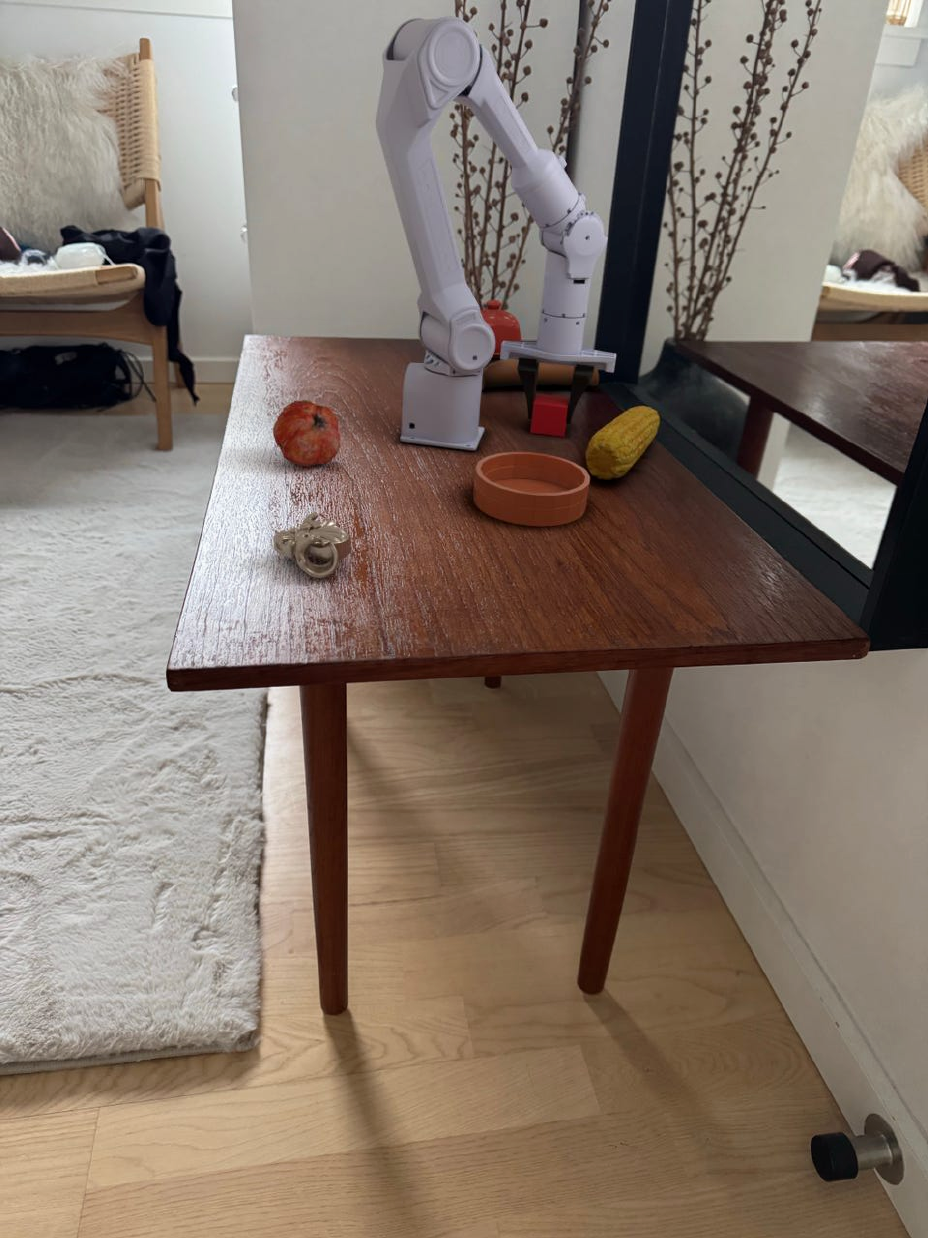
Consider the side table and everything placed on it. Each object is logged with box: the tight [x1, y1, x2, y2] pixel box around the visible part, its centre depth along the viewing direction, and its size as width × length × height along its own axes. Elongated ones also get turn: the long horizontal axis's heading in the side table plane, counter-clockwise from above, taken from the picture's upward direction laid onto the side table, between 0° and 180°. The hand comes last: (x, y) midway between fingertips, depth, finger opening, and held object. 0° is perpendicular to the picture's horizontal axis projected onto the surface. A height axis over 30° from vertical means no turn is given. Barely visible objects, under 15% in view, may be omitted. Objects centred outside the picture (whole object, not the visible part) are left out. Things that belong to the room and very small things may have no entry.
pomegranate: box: [272, 399, 341, 468], centre depth 100 cm, size 7×7×10 cm
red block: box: [530, 393, 570, 438], centre depth 117 cm, size 4×4×4 cm
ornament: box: [272, 511, 351, 579], centre depth 80 cm, size 8×7×4 cm
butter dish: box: [480, 299, 522, 359], centre depth 147 cm, size 12×12×8 cm
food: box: [584, 405, 661, 481], centre depth 109 cm, size 21×6×6 cm, turn 157°
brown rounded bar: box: [481, 359, 600, 391], centre depth 134 cm, size 18×7×7 cm
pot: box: [472, 451, 591, 527], centre depth 95 cm, size 12×12×4 cm
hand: (549, 419), depth 117 cm, fingers closed on red block, 4 cm apart
